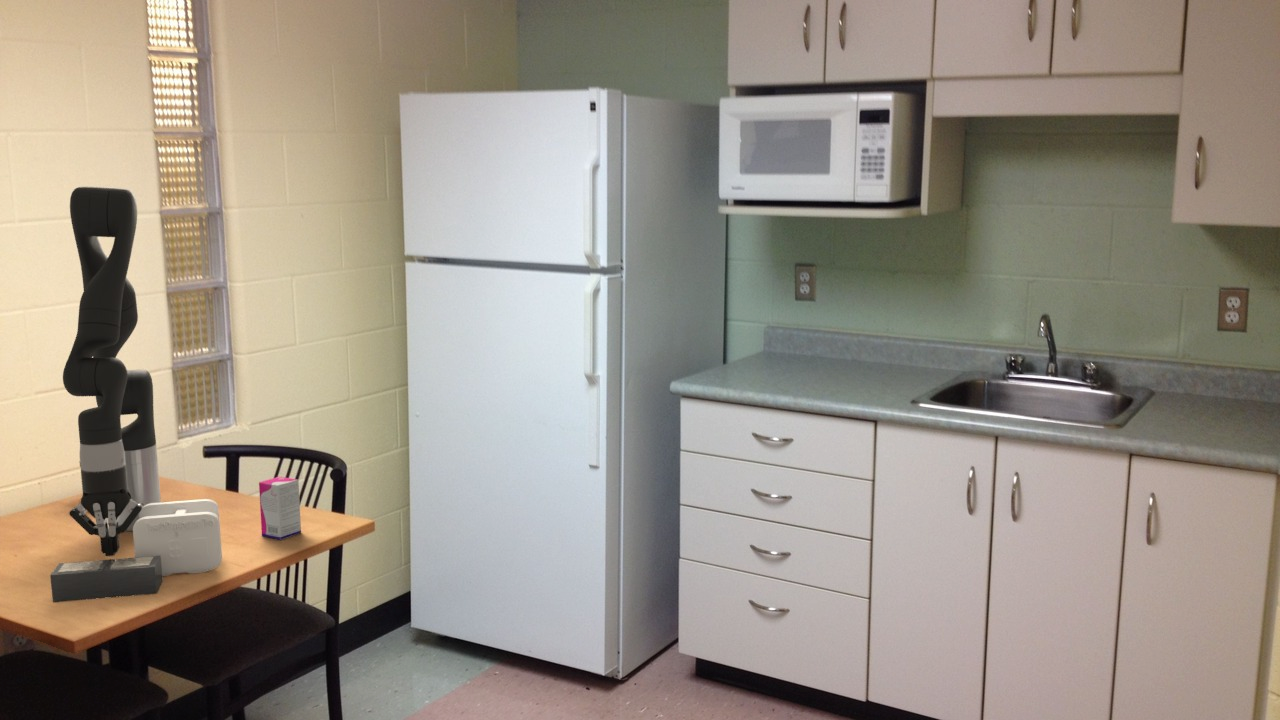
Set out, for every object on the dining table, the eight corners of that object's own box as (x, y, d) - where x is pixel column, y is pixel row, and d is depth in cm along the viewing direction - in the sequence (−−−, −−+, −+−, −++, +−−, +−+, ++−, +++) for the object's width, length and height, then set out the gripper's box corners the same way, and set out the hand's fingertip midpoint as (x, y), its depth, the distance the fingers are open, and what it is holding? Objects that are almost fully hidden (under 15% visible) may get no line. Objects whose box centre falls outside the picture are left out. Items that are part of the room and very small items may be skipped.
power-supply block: (61, 590, 205) (59, 562, 204) (162, 581, 209) (160, 554, 208) (53, 602, 199) (50, 574, 198) (156, 593, 203) (154, 565, 202)
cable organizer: (226, 554, 223) (222, 497, 221) (221, 573, 213) (217, 513, 211) (144, 561, 219) (139, 503, 217) (135, 581, 209) (130, 520, 207)
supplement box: (302, 532, 236) (299, 479, 234) (280, 540, 231) (277, 486, 229) (282, 528, 239) (279, 475, 237) (260, 536, 234) (257, 482, 232)
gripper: (145, 457, 215) (152, 545, 218) (69, 461, 212) (77, 551, 215) (137, 467, 208) (144, 558, 211) (58, 472, 205) (67, 564, 208)
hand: (110, 554), depth 213 cm, fingers closed
